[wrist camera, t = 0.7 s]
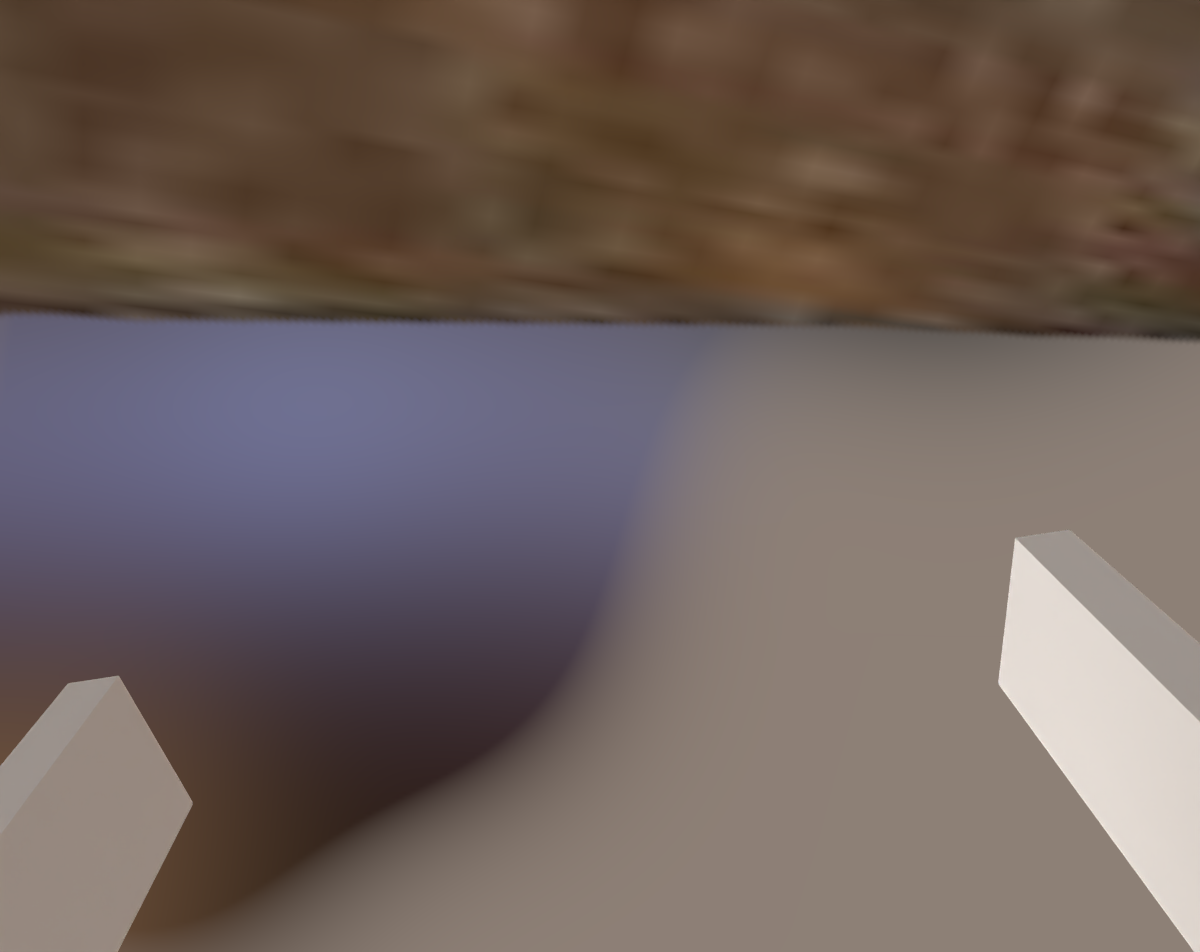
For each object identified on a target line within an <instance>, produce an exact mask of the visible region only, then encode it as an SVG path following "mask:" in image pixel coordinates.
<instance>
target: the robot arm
mask: <svg viewBox="0 0 1200 952" xmlns="http://www.w3.org/2000/svg"><path fill="white" fill-rule="evenodd" d="M998 684H999V685H1000V687H1001V688H1002V689H1003V691H1004V692H1005V694H1006V695H1007V696H1008V698H1009V699H1010V700H1011V702H1012V703H1013V705H1014V706H1015V707H1016V709H1017V710H1018V711H1019V713H1020V714H1021V716H1022V717H1023V718H1024V720H1025V721H1026V722H1027V724H1028V725H1029V726H1030V728H1031V729H1032V731H1033V732H1034V733H1035V735H1036V736H1037V737H1038V739H1039V740H1040V742H1041V743H1042V744H1043V746H1044V747H1045V748H1046V750H1047V751H1048V752H1049V754H1050V755H1051V757H1052V758H1053V759H1054V761H1055V762H1056V763H1057V765H1058V766H1059V767H1060V769H1061V770H1062V772H1063V773H1064V774H1065V776H1066V777H1067V778H1068V780H1069V781H1070V783H1071V784H1072V785H1073V787H1074V788H1075V789H1076V791H1077V792H1078V794H1079V795H1080V796H1081V797H1082V799H1083V800H1084V802H1085V803H1086V804H1087V806H1088V807H1089V809H1090V810H1091V811H1092V813H1093V814H1094V815H1095V817H1096V818H1097V819H1098V821H1099V822H1100V824H1101V825H1102V826H1103V828H1104V829H1105V830H1106V832H1107V833H1108V835H1109V836H1110V837H1111V839H1112V840H1113V841H1114V843H1115V844H1116V846H1117V847H1118V848H1119V850H1120V851H1121V852H1122V854H1123V855H1124V856H1125V858H1126V859H1127V860H1128V862H1129V863H1130V865H1131V866H1132V867H1133V869H1134V870H1135V872H1136V873H1137V874H1138V876H1139V877H1140V878H1141V880H1142V881H1143V882H1144V884H1145V885H1146V887H1147V888H1148V889H1149V891H1150V892H1151V893H1152V895H1153V896H1154V898H1155V899H1156V900H1157V902H1158V903H1159V904H1160V906H1161V907H1162V908H1163V910H1164V911H1165V913H1166V914H1167V915H1168V917H1169V918H1170V919H1171V921H1172V922H1173V923H1174V925H1175V926H1176V928H1177V929H1178V930H1179V932H1180V933H1181V934H1182V936H1183V937H1184V939H1185V940H1186V941H1187V943H1188V944H1189V945H1190V947H1191V948H1192V949H1193V951H1194V952H1200V643H1199V642H1197V641H1196V640H1195V639H1194V638H1193V637H1192V636H1191V635H1189V634H1188V633H1187V632H1186V631H1185V630H1184V629H1182V628H1181V627H1180V626H1179V625H1178V624H1177V623H1176V622H1175V621H1173V620H1172V619H1171V618H1170V617H1169V616H1168V615H1166V614H1165V613H1164V612H1163V611H1162V610H1161V609H1160V608H1159V607H1157V606H1156V605H1155V604H1154V603H1153V602H1152V601H1151V600H1149V599H1148V598H1147V597H1146V596H1145V595H1144V594H1142V593H1141V592H1140V591H1139V590H1138V589H1137V588H1136V587H1134V586H1133V585H1132V584H1131V583H1130V582H1129V581H1128V580H1127V579H1125V578H1124V577H1123V576H1122V575H1121V574H1120V573H1119V572H1117V571H1116V570H1115V569H1114V568H1113V567H1112V566H1111V565H1109V564H1108V563H1107V562H1106V561H1105V560H1103V558H1101V557H1100V556H1099V555H1098V554H1097V553H1096V552H1095V551H1093V550H1092V549H1091V548H1090V547H1089V546H1088V545H1087V544H1085V543H1084V542H1083V541H1082V540H1081V539H1080V538H1078V537H1077V536H1076V535H1075V534H1074V533H1073V532H1072V531H1071V530H1064V531H1057V532H1051V533H1044V534H1038V535H1031V536H1025V537H1019V538H1015V545H1014V553H1013V563H1012V571H1011V579H1010V588H1009V596H1008V606H1007V613H1006V622H1005V630H1004V639H1003V648H1002V656H1001V664H1000V673H999V682H998ZM192 804H193V802H192V800H191V799H190V797H189V795H188V794H187V792H186V790H185V789H184V787H183V785H182V783H181V782H180V780H179V778H178V777H177V775H176V773H175V771H174V770H173V768H172V766H171V764H170V763H169V761H168V759H167V758H166V756H165V754H164V753H163V751H162V749H161V747H160V746H159V744H158V742H157V741H156V739H155V737H154V735H153V734H152V732H151V730H150V729H149V727H148V725H147V724H146V722H145V720H144V718H143V717H142V715H141V713H140V711H139V710H138V708H137V706H136V705H135V703H134V701H133V699H132V698H131V696H130V694H129V693H128V691H127V689H126V688H125V686H124V684H123V682H122V681H121V679H120V677H119V676H114V677H107V678H101V679H94V680H88V681H81V682H75V683H69V684H67V685H66V687H65V688H64V689H63V690H62V692H61V693H60V694H59V695H58V697H57V698H56V699H55V700H54V701H53V703H52V704H51V705H50V706H49V707H48V709H47V710H46V711H45V712H44V714H43V715H42V716H41V717H40V718H39V720H38V721H37V722H36V723H35V725H34V726H33V727H32V728H31V730H30V731H29V732H28V733H27V735H26V736H25V737H24V738H23V739H22V741H21V742H20V743H19V744H18V745H17V747H16V748H15V749H14V750H13V751H12V753H11V754H10V755H9V756H8V758H7V759H6V760H5V761H4V762H3V764H2V765H1V766H0V952H118V950H119V948H120V946H121V944H122V942H123V940H124V938H125V936H126V934H127V932H128V930H129V928H130V926H131V924H132V922H133V920H134V918H135V916H136V914H137V912H138V910H139V909H140V907H141V905H142V903H143V901H144V899H145V897H146V895H147V893H148V891H149V889H150V887H151V885H152V883H153V881H154V879H155V877H156V875H157V873H158V871H159V869H160V867H161V865H162V863H163V861H164V859H165V857H166V856H167V854H168V852H169V850H170V848H171V846H172V844H173V842H174V840H175V838H176V836H177V834H178V832H179V830H180V828H181V826H182V824H183V822H184V820H185V818H186V816H187V814H188V812H189V810H190V808H191V806H192Z"/></svg>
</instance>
